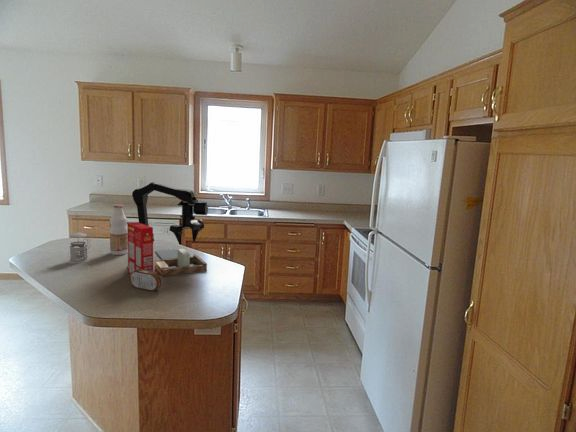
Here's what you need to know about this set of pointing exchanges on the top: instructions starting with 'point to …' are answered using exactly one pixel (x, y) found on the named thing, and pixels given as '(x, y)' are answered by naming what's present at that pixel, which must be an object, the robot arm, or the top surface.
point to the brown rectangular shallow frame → (182, 270)
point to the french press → (74, 251)
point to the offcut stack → (161, 266)
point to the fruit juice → (118, 232)
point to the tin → (145, 279)
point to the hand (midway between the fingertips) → (187, 242)
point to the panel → (183, 258)
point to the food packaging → (140, 247)
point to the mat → (167, 254)
